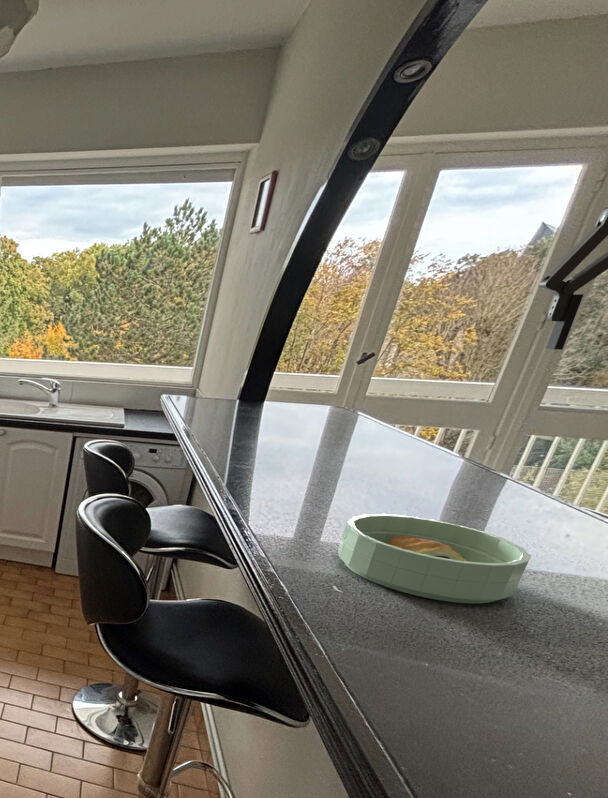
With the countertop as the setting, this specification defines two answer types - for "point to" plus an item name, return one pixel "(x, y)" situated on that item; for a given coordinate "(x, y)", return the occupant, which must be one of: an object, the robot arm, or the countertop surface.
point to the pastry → (425, 547)
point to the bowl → (433, 559)
